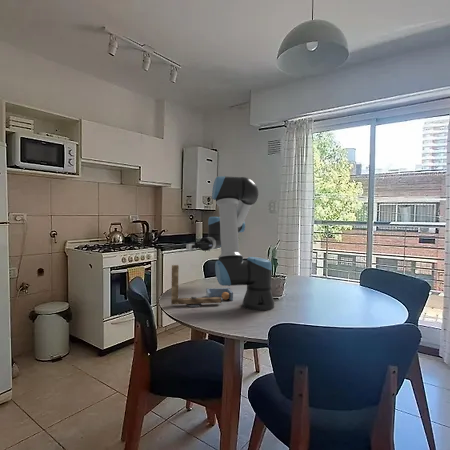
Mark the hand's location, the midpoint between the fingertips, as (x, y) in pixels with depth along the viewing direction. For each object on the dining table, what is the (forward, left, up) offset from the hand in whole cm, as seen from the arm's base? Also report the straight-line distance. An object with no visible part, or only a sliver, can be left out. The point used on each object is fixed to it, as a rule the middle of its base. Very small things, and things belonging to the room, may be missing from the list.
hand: (187, 247), depth 175 cm
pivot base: (-12, +6, -26) cm, 30 cm away
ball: (-16, -13, -26) cm, 33 cm away
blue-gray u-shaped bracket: (-12, -12, -26) cm, 31 cm away
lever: (-13, +5, -25) cm, 29 cm away
